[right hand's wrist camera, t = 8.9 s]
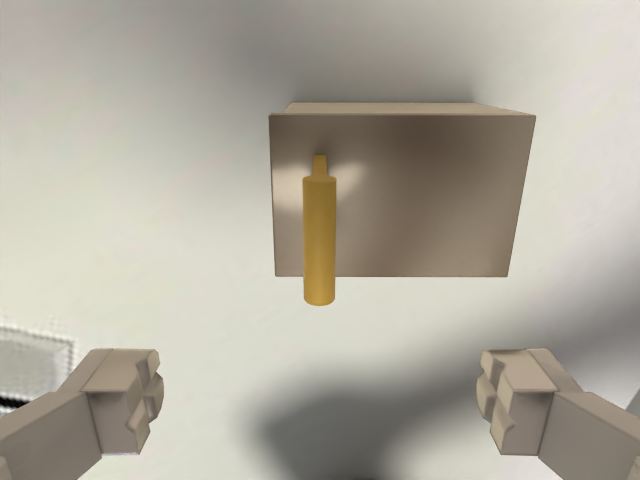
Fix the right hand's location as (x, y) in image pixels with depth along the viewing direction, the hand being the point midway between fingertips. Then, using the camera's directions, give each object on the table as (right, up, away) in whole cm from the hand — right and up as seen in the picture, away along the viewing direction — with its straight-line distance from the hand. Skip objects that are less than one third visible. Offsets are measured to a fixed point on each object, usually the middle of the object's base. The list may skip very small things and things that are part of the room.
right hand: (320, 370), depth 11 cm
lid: (+4, +6, +15) cm, 17 cm away
